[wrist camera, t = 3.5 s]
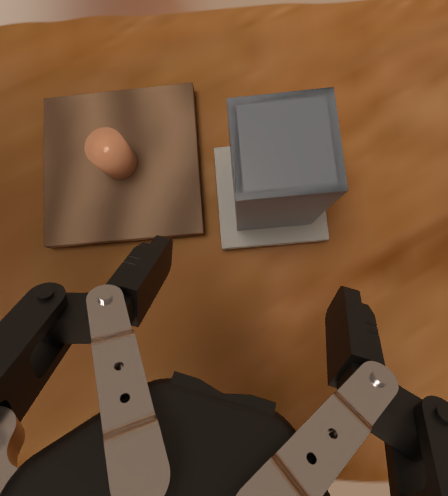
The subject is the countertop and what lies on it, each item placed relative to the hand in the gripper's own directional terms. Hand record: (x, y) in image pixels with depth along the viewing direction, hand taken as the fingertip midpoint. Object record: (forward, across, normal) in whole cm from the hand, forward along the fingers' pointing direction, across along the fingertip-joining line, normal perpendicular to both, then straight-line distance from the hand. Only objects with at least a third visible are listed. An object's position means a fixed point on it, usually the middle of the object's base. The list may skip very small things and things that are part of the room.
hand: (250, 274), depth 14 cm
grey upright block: (+13, 0, +2) cm, 14 cm away
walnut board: (+14, +14, +4) cm, 19 cm away
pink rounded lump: (+13, +14, +3) cm, 19 cm away
